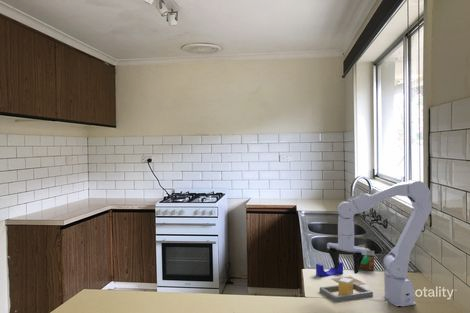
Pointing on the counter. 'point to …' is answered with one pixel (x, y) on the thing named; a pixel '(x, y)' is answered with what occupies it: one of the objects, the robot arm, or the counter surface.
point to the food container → (367, 259)
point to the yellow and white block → (345, 286)
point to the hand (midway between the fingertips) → (346, 270)
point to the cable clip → (330, 272)
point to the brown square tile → (349, 278)
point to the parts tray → (363, 294)
